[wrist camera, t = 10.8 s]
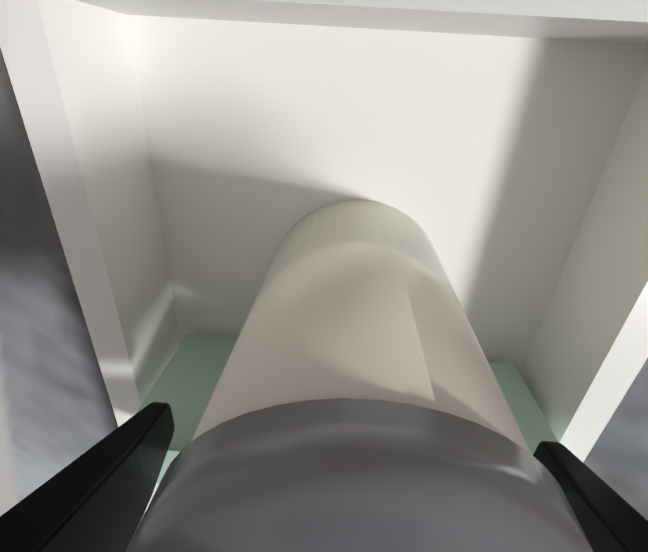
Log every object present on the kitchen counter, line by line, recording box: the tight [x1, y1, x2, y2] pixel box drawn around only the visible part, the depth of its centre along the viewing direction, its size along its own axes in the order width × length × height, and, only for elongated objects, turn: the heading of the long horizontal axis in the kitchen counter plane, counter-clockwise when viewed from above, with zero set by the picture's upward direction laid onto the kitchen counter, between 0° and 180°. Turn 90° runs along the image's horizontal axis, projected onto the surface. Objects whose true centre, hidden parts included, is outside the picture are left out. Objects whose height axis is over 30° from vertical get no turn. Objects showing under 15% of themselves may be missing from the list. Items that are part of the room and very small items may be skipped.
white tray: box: [0, 0, 648, 513], centre depth 12 cm, size 22×15×6 cm
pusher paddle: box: [135, 334, 558, 484], centre depth 12 cm, size 3×12×5 cm, turn 87°
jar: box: [127, 200, 594, 552], centre depth 8 cm, size 6×6×9 cm
